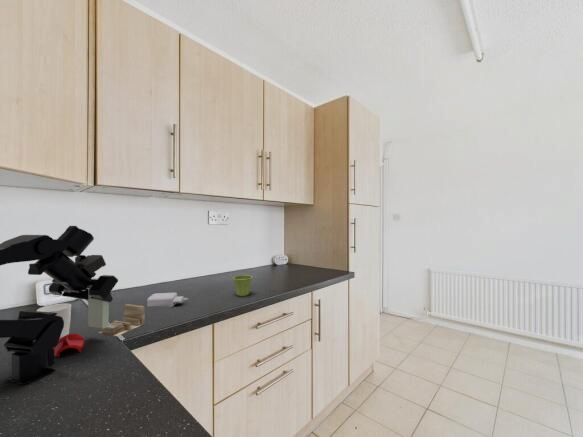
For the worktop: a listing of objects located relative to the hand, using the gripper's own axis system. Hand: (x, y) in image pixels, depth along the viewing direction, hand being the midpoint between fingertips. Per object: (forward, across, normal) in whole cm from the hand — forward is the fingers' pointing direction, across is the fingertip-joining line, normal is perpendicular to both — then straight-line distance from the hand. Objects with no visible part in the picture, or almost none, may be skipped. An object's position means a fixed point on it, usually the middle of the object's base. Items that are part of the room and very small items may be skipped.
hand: (102, 299), depth 80 cm
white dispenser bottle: (+34, +4, -15) cm, 37 cm away
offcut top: (+10, 0, +4) cm, 11 cm away
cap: (+3, +1, +15) cm, 16 cm away
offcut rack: (+14, 0, +4) cm, 14 cm away
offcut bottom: (+11, 0, +5) cm, 12 cm away
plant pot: (+49, -21, -31) cm, 62 cm away
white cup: (+7, +16, +11) cm, 20 cm away
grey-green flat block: (+4, 0, +6) cm, 7 cm away
